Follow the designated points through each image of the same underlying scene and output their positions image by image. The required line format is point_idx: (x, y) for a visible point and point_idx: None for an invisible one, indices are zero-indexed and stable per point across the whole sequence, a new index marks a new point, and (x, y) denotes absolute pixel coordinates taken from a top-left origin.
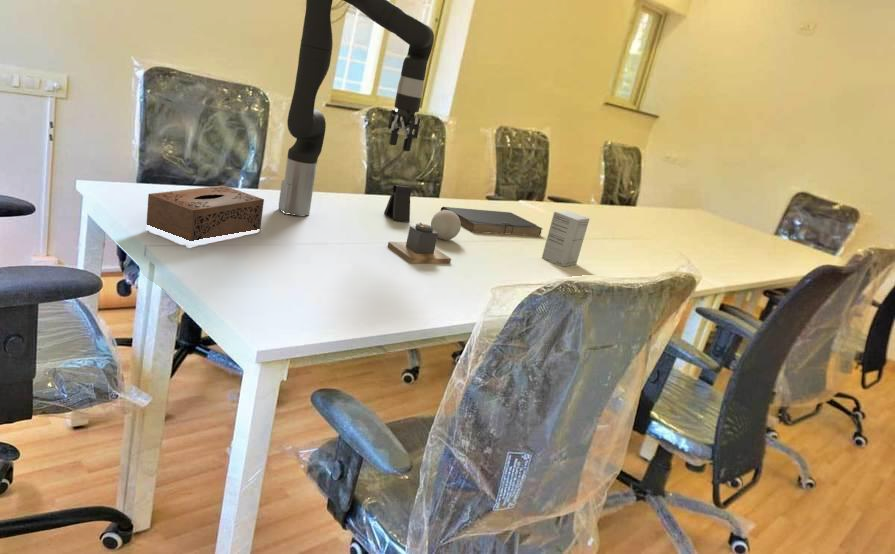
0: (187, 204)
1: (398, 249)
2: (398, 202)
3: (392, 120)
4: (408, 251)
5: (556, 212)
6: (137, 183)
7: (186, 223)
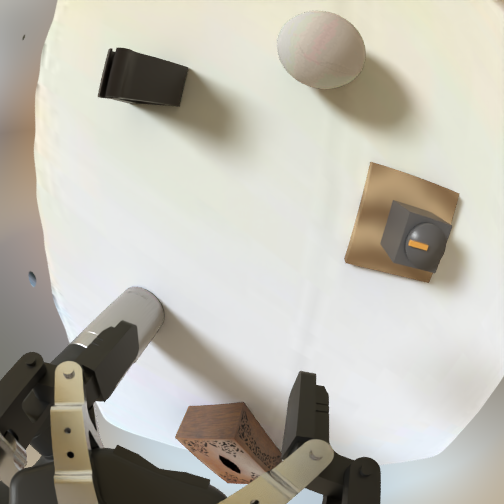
0: None
1: (386, 272)
2: (145, 91)
3: (31, 429)
4: None
5: None
6: None
7: None
